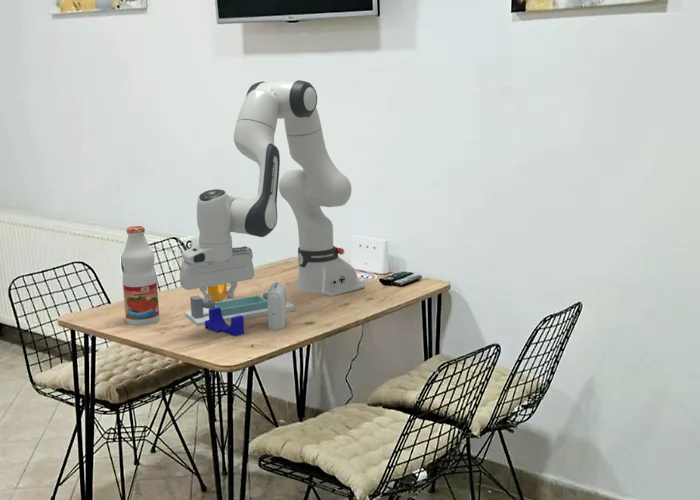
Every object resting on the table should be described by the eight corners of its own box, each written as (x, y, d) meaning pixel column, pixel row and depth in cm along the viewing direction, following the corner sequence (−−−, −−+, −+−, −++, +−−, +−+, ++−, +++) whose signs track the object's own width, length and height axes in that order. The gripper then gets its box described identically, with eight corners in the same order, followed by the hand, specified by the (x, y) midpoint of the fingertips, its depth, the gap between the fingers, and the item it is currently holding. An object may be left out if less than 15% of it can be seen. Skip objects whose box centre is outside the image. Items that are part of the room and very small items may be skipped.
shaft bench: (278, 300, 260) (277, 278, 259) (294, 310, 250) (294, 287, 248) (184, 316, 246) (183, 293, 245) (198, 328, 236) (196, 304, 234)
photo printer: (282, 332, 232) (281, 289, 229) (267, 332, 232) (265, 289, 229) (287, 320, 242) (286, 278, 239) (272, 320, 242) (271, 278, 239)
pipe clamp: (213, 294, 268) (212, 275, 267) (226, 294, 268) (225, 275, 266) (203, 306, 257) (201, 285, 255) (216, 306, 256) (215, 286, 255)
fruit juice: (155, 315, 248) (148, 222, 241) (163, 325, 239) (156, 228, 233) (123, 320, 244) (115, 226, 237) (129, 330, 236) (121, 232, 229)
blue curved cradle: (205, 331, 234) (204, 310, 233) (218, 327, 237) (217, 307, 236) (231, 341, 226) (229, 320, 224) (244, 337, 229) (243, 316, 227)
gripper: (247, 242, 234) (250, 290, 238) (176, 253, 225) (180, 302, 228) (256, 247, 229) (259, 296, 232) (183, 258, 219) (187, 309, 223)
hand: (219, 299), depth 230 cm, fingers open, 5 cm apart
